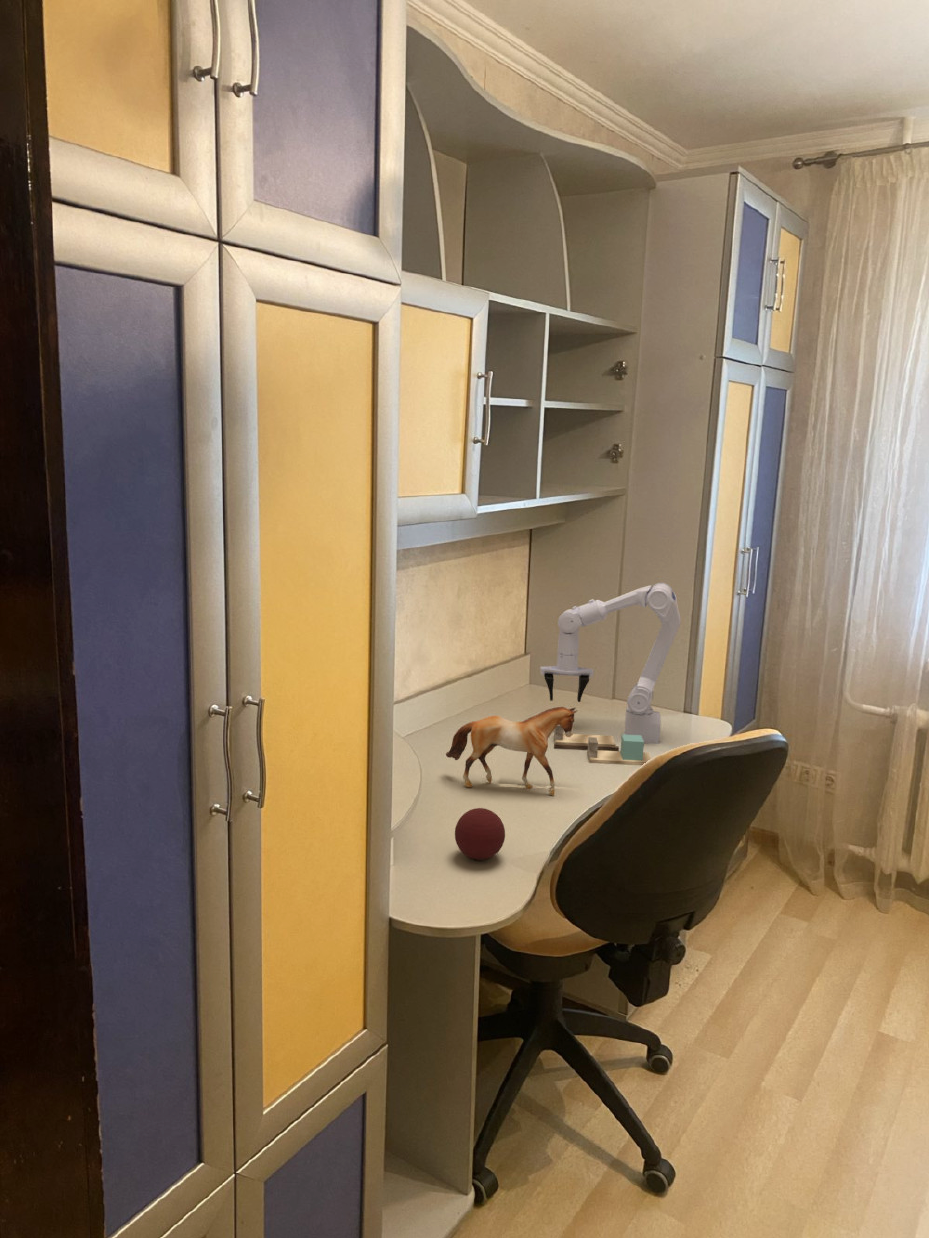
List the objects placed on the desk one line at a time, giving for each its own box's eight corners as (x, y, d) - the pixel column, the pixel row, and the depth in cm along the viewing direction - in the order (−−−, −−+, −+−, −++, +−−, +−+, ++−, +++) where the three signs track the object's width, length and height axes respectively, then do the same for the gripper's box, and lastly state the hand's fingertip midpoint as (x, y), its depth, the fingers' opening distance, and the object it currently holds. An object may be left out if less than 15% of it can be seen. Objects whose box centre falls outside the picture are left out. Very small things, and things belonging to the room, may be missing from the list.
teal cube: (639, 753, 239) (641, 735, 238) (642, 760, 234) (644, 741, 233) (620, 752, 239) (621, 734, 238) (622, 759, 234) (624, 740, 233)
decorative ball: (497, 872, 177) (499, 824, 175) (447, 864, 180) (449, 816, 177) (509, 850, 186) (511, 804, 184) (461, 842, 189) (463, 797, 187)
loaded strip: (648, 755, 240) (649, 738, 239) (652, 765, 233) (654, 747, 232) (587, 752, 241) (588, 735, 240) (589, 762, 234) (590, 744, 233)
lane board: (613, 740, 253) (613, 733, 253) (623, 770, 232) (624, 762, 231) (551, 737, 254) (551, 730, 253) (556, 767, 232) (556, 759, 232)
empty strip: (612, 738, 252) (613, 721, 251) (615, 747, 245) (616, 730, 244) (553, 735, 253) (554, 719, 252) (555, 744, 246) (556, 727, 245)
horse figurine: (573, 788, 219) (578, 706, 215) (570, 801, 212) (575, 716, 207) (446, 774, 225) (448, 693, 221) (438, 786, 218) (441, 703, 213)
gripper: (592, 650, 257) (589, 697, 260) (541, 648, 258) (538, 694, 261) (595, 657, 250) (592, 704, 253) (542, 654, 251) (539, 702, 254)
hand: (565, 700), depth 257 cm, fingers open, 7 cm apart
